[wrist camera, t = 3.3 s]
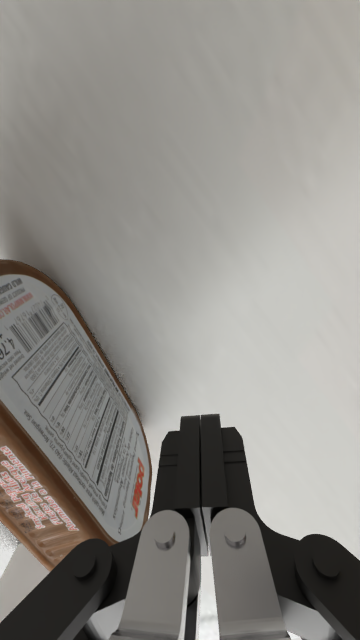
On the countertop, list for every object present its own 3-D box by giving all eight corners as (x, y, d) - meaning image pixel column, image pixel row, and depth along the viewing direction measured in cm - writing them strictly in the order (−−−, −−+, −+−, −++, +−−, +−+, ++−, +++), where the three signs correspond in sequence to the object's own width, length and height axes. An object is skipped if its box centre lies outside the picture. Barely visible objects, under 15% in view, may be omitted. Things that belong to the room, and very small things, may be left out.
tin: (-3, 258, 15) (-222, 331, 7) (48, 235, 14) (-133, 287, 6) (127, 456, 20) (83, 619, 12) (167, 446, 19) (148, 611, 12)
